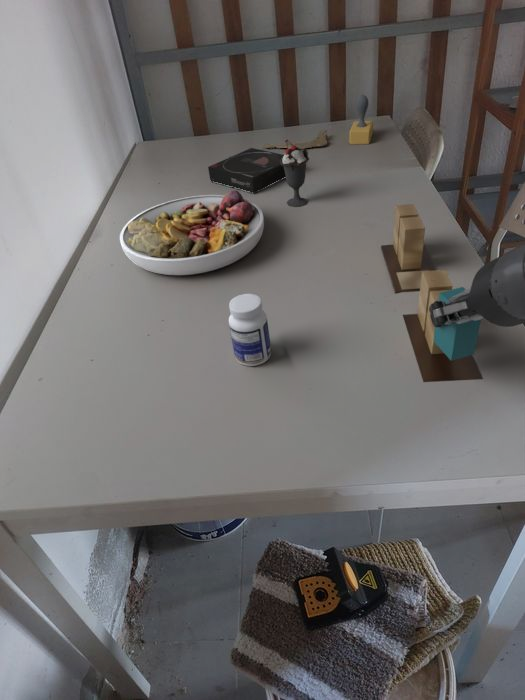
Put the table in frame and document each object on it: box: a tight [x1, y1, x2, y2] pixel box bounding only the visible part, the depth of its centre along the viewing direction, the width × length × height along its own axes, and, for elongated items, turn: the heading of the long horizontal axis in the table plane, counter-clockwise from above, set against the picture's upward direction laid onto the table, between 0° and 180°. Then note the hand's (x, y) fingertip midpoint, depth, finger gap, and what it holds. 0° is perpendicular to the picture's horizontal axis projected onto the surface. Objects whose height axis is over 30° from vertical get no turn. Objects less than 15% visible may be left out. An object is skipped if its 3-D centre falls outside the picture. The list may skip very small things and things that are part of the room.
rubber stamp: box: [349, 94, 374, 145], centre depth 150 cm, size 10×6×12 cm, turn 165°
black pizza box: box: [207, 147, 286, 194], centre depth 137 cm, size 16×17×4 cm
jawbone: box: [262, 129, 329, 150], centre depth 153 cm, size 9×20×2 cm, turn 105°
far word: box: [380, 203, 435, 295], centre depth 92 cm, size 8×17×9 cm, turn 178°
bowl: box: [119, 189, 265, 276], centre depth 108 cm, size 30×30×8 cm
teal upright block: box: [433, 286, 482, 361], centre depth 68 cm, size 3×5×8 cm
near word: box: [402, 269, 484, 383], centre depth 75 cm, size 8×16×9 cm, turn 178°
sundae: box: [280, 139, 310, 208], centre depth 118 cm, size 7×7×15 cm
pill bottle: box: [228, 293, 272, 367], centre depth 77 cm, size 6×6×10 cm
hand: (448, 316), depth 69 cm, fingers closed on teal upright block, 3 cm apart
